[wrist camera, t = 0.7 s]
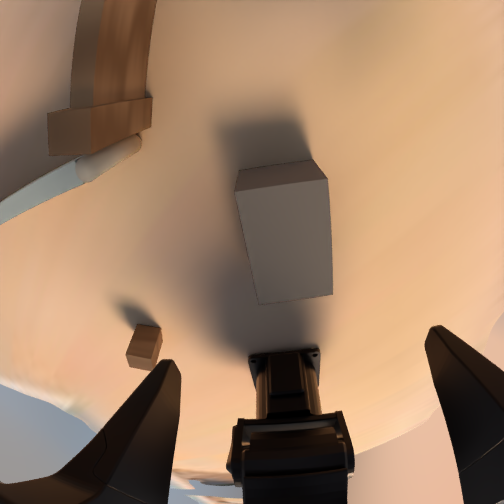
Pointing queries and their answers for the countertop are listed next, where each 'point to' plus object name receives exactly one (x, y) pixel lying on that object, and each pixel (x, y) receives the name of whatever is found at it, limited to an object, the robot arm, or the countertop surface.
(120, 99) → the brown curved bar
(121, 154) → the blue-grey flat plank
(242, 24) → the countertop surface
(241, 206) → the grey rectangular block
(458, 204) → the countertop surface
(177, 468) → the countertop surface
